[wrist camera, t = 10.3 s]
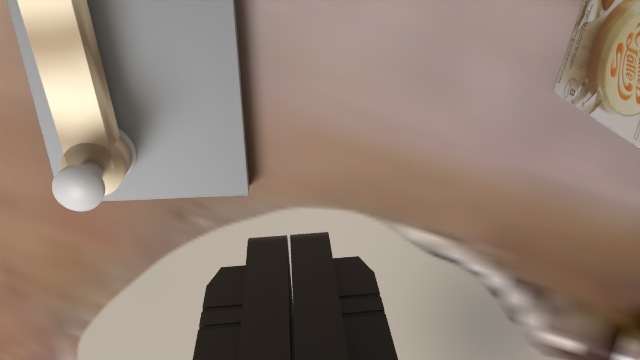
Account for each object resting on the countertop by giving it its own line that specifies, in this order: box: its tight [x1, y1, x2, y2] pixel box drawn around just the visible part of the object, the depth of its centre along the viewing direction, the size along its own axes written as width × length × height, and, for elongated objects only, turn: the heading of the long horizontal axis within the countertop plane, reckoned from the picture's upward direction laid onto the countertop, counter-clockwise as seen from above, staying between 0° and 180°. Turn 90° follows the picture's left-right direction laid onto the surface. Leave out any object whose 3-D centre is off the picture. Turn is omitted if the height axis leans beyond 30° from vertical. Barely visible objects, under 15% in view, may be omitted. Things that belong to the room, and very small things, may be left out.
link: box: [17, 0, 132, 195], centre depth 33 cm, size 18×4×2 cm, turn 3°
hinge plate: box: [7, 0, 249, 211], centre depth 32 cm, size 24×14×7 cm, turn 0°
